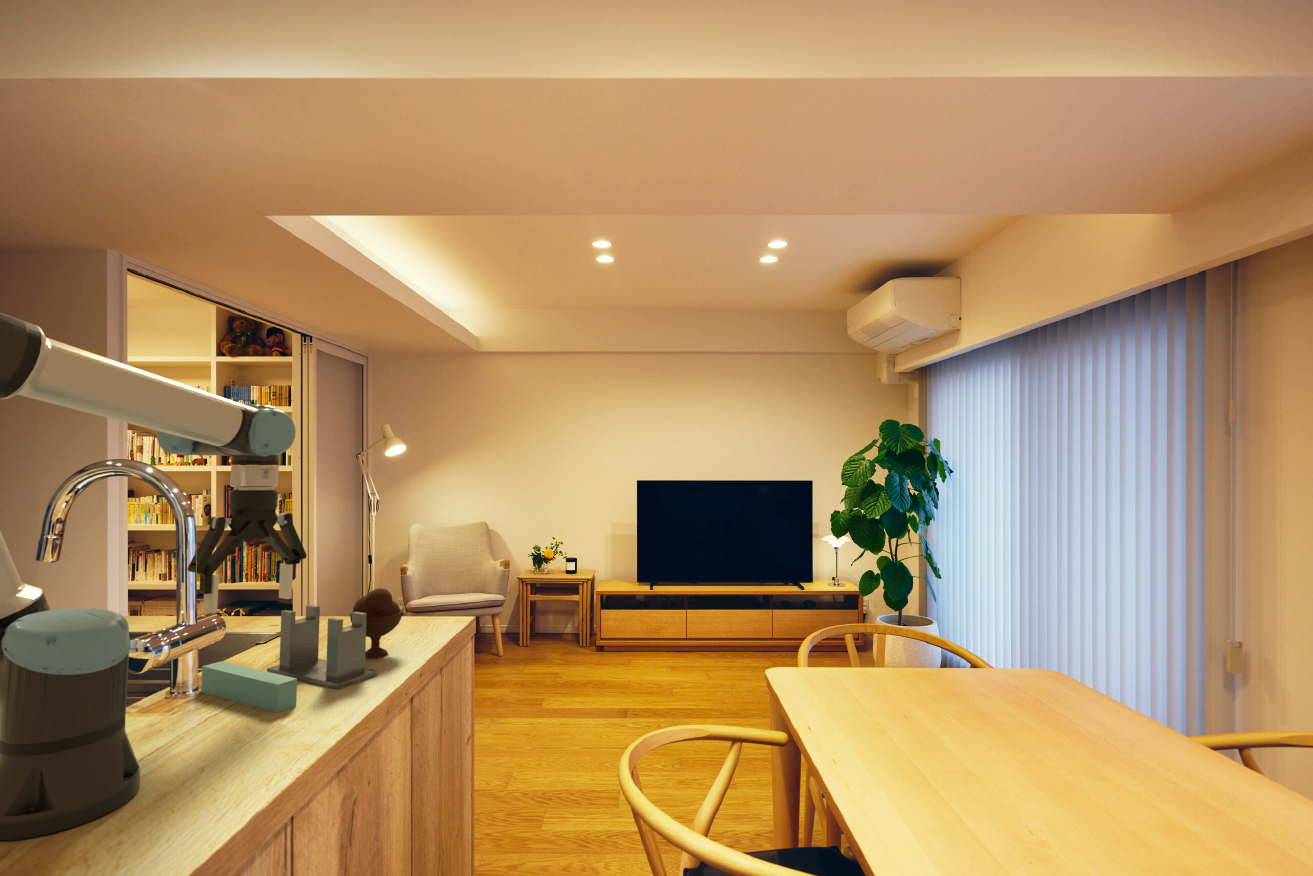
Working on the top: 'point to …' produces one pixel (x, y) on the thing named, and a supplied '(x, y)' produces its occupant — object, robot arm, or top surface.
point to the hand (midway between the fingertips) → (249, 605)
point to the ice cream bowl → (378, 618)
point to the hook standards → (341, 650)
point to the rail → (249, 686)
